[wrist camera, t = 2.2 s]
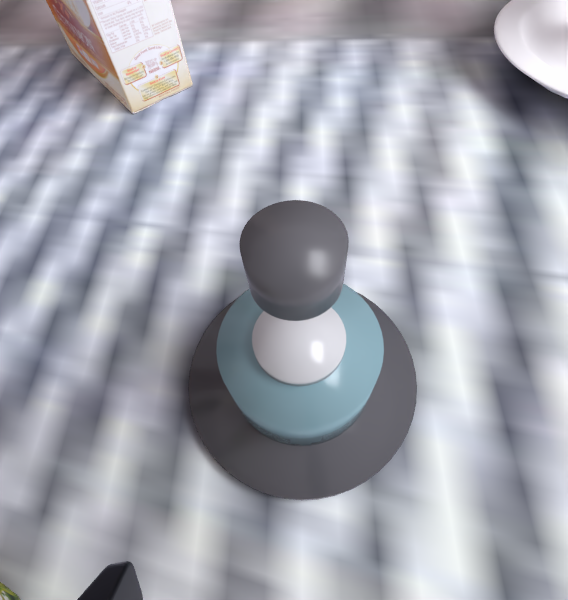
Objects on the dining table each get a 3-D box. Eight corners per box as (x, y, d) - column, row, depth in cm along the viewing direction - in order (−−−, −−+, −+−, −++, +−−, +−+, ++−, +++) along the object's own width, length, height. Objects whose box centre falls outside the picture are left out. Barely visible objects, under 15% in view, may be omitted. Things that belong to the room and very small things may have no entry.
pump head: (359, 293, 15) (371, 238, 12) (296, 352, 14) (292, 307, 11) (296, 245, 16) (294, 185, 14) (234, 295, 15) (217, 242, 13)
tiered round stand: (460, 376, 23) (501, 335, 18) (301, 563, 19) (299, 575, 14) (300, 251, 28) (298, 193, 23) (148, 376, 24) (107, 337, 19)
